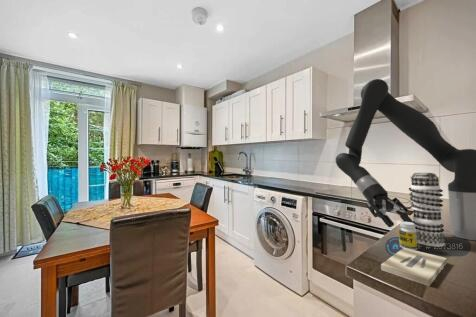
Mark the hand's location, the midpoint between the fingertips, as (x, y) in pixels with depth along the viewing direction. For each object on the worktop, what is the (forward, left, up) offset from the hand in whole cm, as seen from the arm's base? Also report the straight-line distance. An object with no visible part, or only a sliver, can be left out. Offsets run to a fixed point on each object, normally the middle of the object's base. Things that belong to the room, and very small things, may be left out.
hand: (401, 224), depth 74 cm
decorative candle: (-11, -1, -7) cm, 14 cm away
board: (+10, +14, -7) cm, 18 cm away
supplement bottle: (0, +2, -7) cm, 8 cm away
